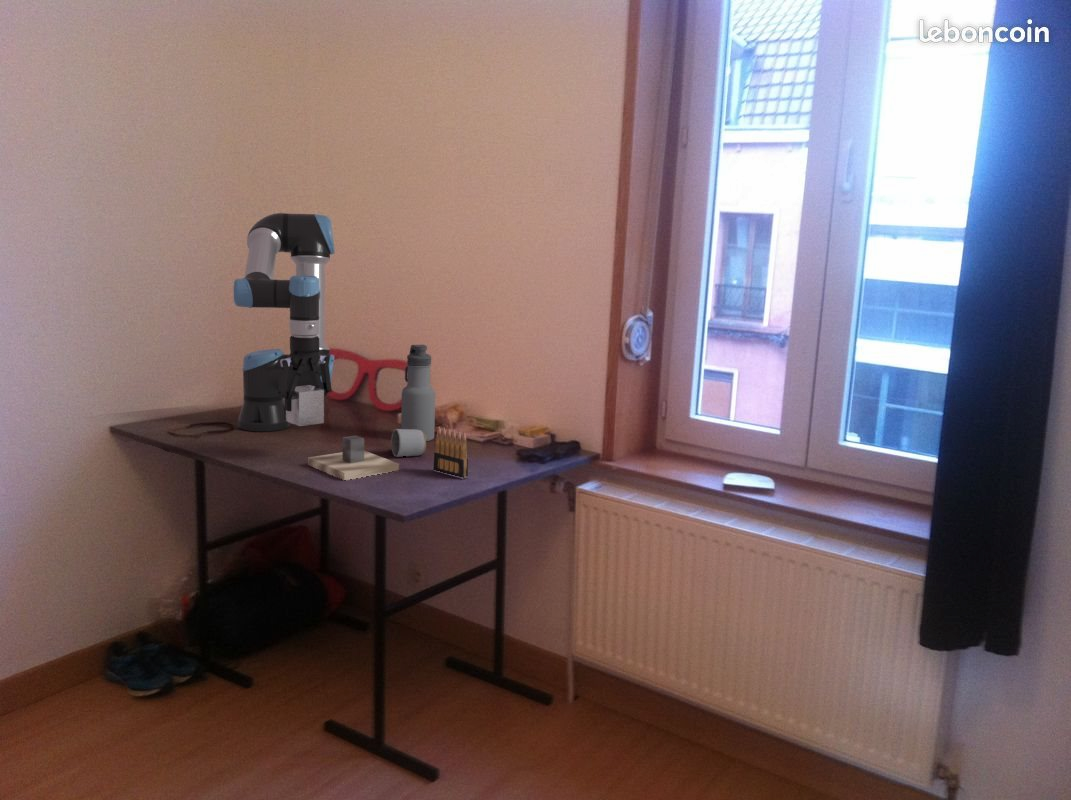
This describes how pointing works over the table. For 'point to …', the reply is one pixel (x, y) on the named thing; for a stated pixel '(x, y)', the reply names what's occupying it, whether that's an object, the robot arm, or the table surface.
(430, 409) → the water bottle
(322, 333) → the robot arm
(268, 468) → the table surface
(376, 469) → the base
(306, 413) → the mottled grey cube
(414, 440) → the ceramic mug
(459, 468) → the ammunition clip
